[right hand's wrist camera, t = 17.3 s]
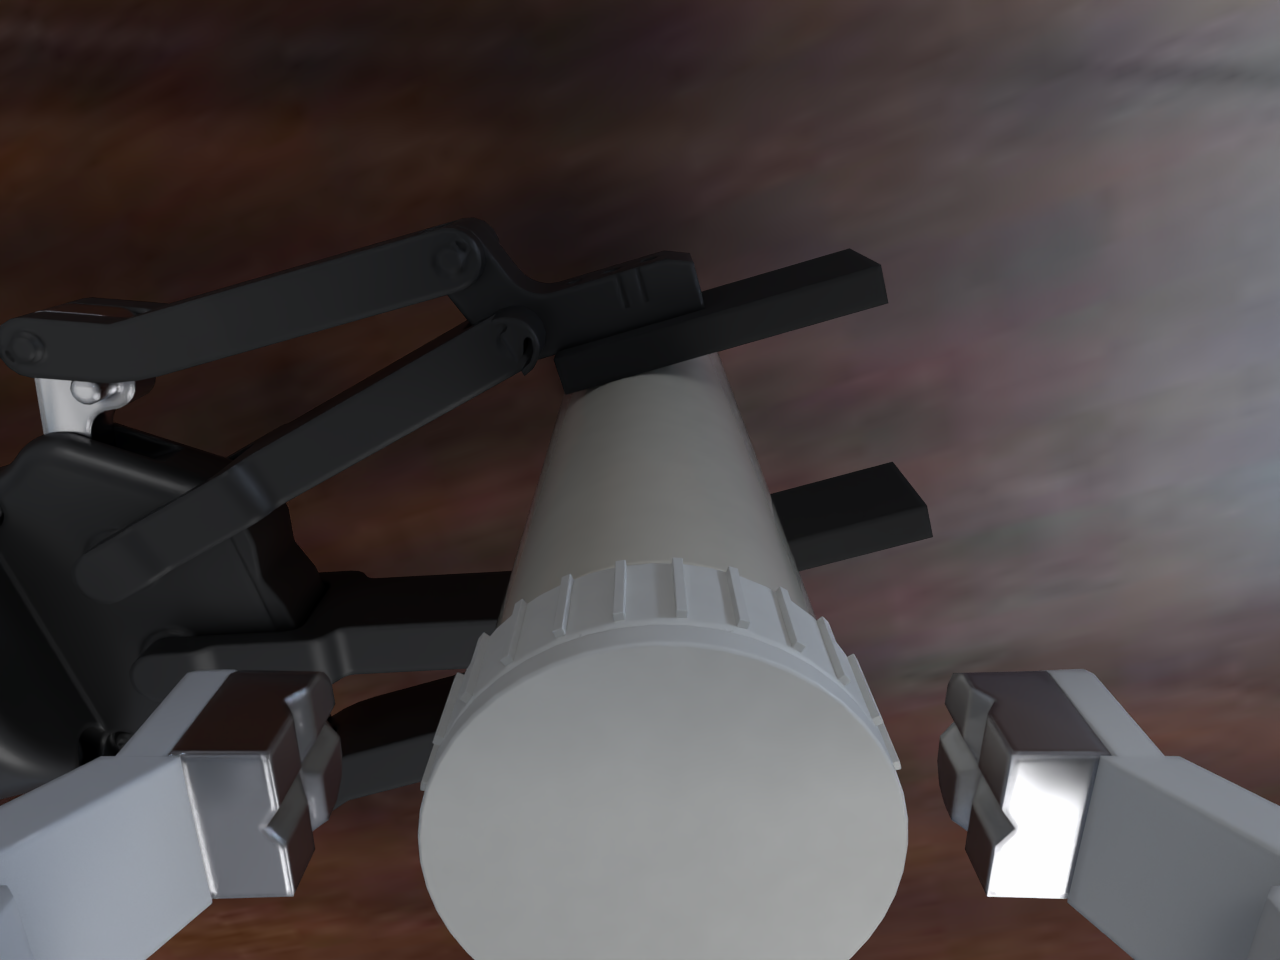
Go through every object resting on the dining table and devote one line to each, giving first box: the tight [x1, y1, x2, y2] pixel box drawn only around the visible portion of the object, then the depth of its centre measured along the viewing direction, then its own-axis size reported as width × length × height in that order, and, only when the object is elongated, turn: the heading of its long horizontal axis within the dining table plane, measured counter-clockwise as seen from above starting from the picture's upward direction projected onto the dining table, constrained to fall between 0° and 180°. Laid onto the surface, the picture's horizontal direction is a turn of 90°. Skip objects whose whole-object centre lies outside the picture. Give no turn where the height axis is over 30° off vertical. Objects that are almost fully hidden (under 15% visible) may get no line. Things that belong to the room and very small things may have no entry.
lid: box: [418, 557, 908, 960], centre depth 9 cm, size 5×5×2 cm
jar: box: [494, 352, 817, 631], centre depth 17 cm, size 4×4×17 cm
